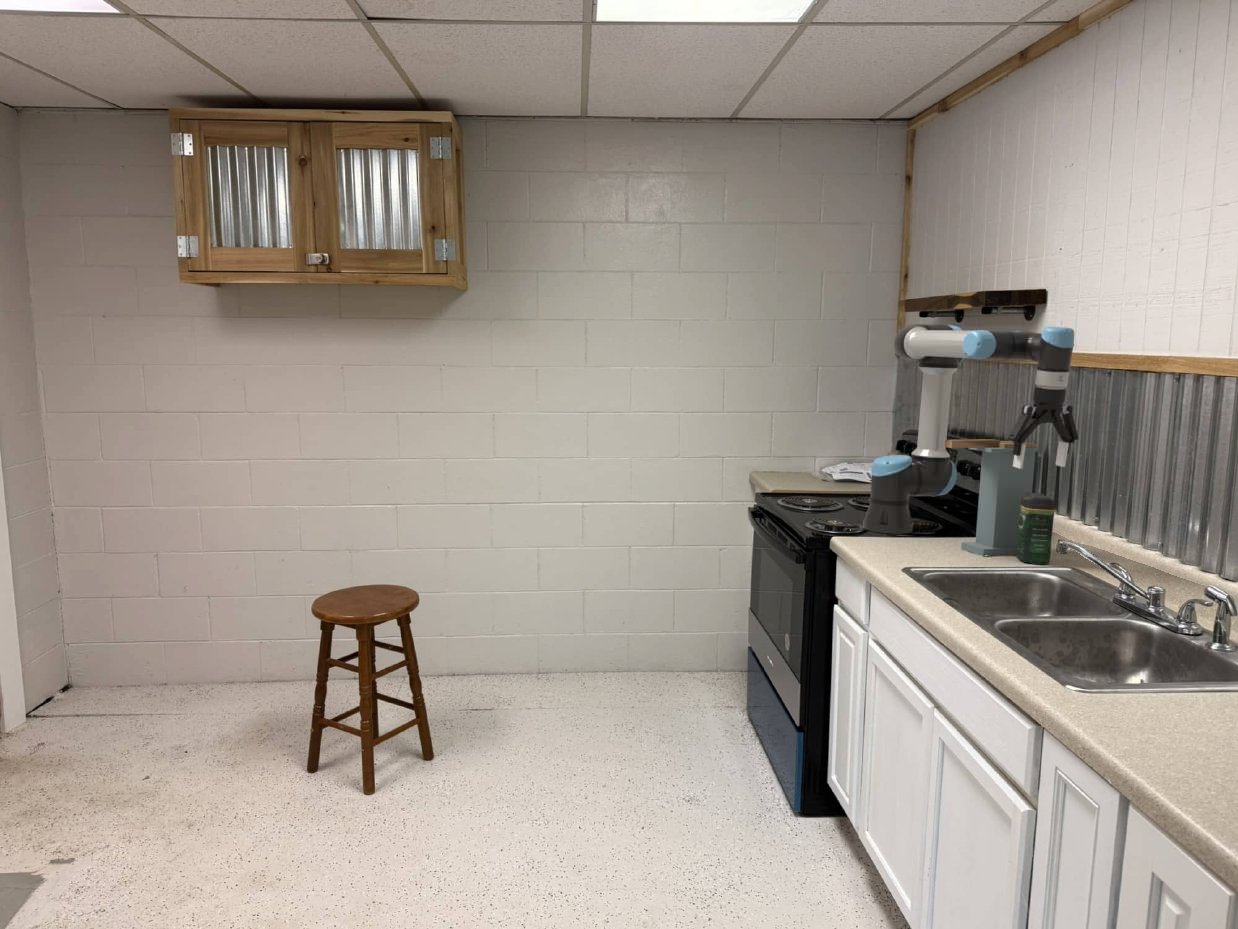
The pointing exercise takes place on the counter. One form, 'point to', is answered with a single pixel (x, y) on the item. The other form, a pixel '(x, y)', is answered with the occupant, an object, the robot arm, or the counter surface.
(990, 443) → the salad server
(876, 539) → the counter surface
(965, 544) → the stand
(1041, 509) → the coffee jar
